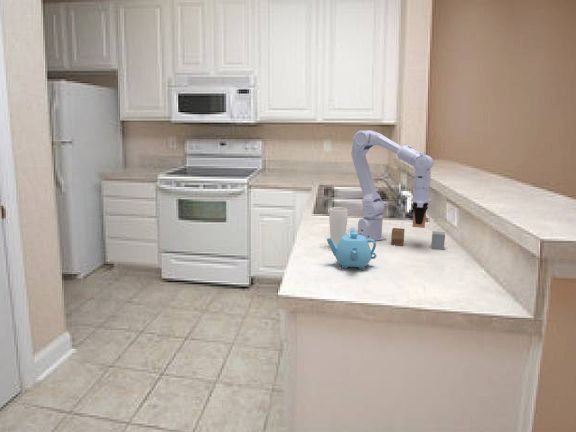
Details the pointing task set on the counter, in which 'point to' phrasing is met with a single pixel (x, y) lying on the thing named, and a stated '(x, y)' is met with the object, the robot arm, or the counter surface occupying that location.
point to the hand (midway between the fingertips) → (418, 222)
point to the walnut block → (397, 237)
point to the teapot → (353, 250)
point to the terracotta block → (419, 224)
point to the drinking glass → (338, 223)
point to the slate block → (438, 240)
